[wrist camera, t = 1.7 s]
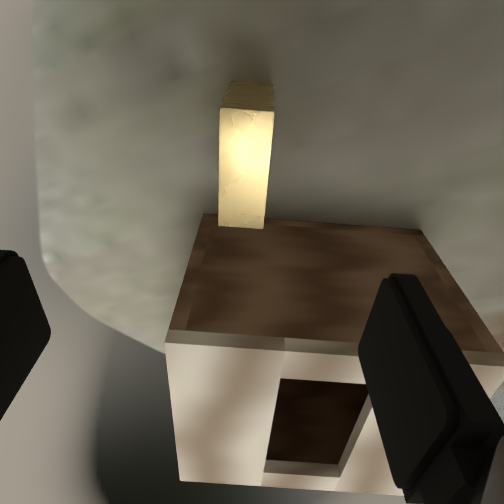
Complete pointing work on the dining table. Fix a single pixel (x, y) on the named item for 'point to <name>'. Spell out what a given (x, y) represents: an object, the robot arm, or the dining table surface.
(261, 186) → the tan flat block
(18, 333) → the robot arm
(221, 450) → the box with rectangular opening
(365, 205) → the dining table surface
